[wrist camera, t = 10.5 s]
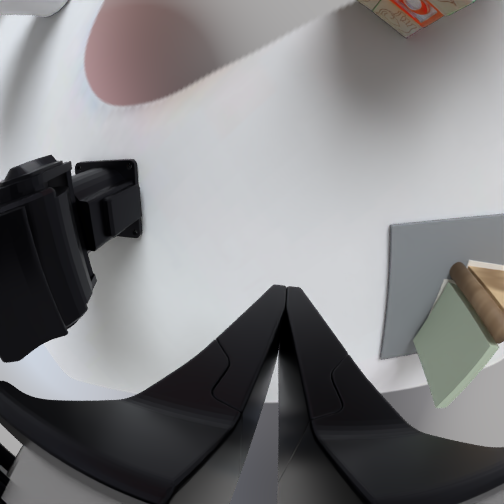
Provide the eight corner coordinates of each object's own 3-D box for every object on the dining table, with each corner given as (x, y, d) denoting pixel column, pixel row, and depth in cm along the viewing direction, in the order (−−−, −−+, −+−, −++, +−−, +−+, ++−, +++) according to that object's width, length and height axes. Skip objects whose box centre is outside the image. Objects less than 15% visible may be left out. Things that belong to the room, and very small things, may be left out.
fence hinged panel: (448, 282, 19) (490, 346, 12) (457, 284, 19) (499, 347, 12) (412, 340, 22) (435, 408, 15) (422, 341, 22) (445, 407, 15)
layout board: (380, 356, 25) (381, 360, 24) (390, 224, 19) (392, 227, 18) (500, 328, 21) (502, 331, 21) (530, 211, 15) (532, 213, 15)
